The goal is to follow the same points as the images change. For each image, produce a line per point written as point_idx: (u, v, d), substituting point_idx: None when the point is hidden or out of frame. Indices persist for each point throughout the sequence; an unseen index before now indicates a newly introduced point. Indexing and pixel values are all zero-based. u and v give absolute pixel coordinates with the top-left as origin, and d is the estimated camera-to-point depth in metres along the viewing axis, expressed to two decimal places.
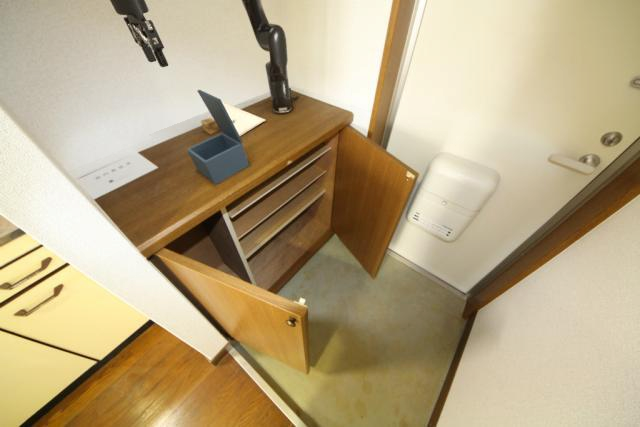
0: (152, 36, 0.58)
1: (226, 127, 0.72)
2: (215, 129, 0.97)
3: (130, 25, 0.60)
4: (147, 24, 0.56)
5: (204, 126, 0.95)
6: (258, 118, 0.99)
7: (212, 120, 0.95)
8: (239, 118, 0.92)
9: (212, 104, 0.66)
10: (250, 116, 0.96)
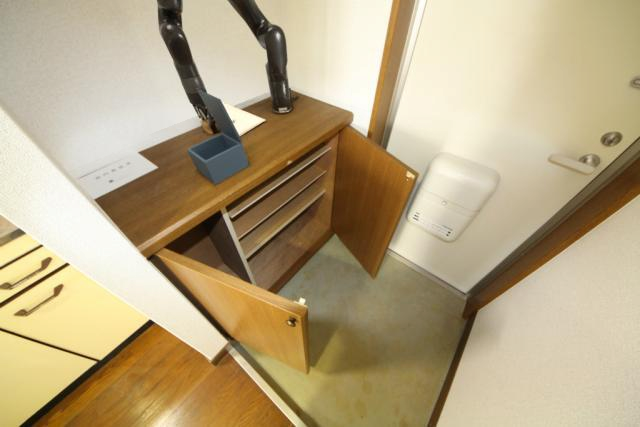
0: (212, 119, 0.90)
1: (226, 127, 0.72)
2: None
3: (196, 108, 0.90)
4: None
5: (204, 126, 0.95)
6: (258, 118, 0.99)
7: None
8: (239, 118, 0.92)
9: (212, 104, 0.66)
10: (250, 116, 0.96)
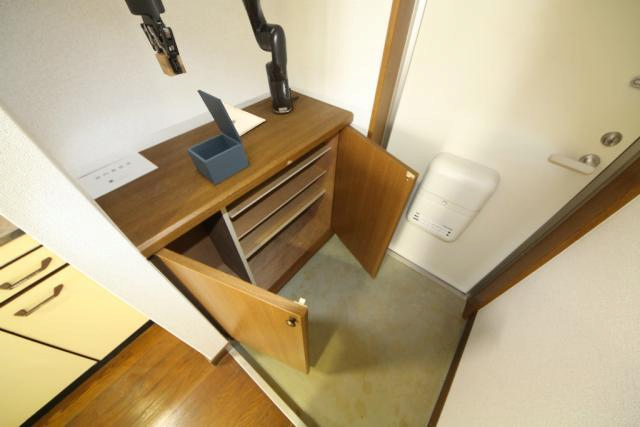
0: (170, 44, 0.55)
1: (226, 127, 0.72)
2: None
3: (144, 26, 0.55)
4: (166, 32, 0.53)
5: (160, 62, 0.60)
6: (258, 118, 0.99)
7: None
8: (239, 118, 0.92)
9: (212, 104, 0.66)
10: (250, 116, 0.96)
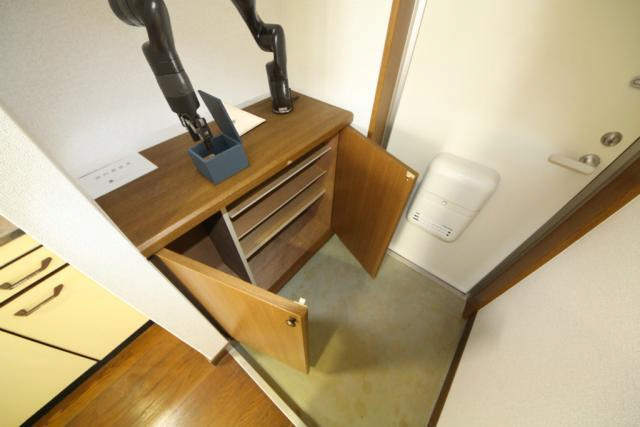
0: (204, 130, 0.62)
1: (226, 127, 0.72)
2: None
3: (182, 118, 0.63)
4: (201, 122, 0.60)
5: None
6: (258, 118, 0.99)
7: None
8: (239, 118, 0.92)
9: (212, 104, 0.66)
10: (250, 116, 0.96)
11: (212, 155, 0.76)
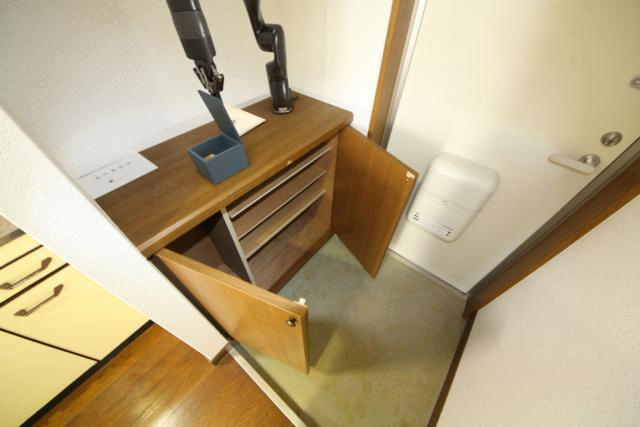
0: (218, 86, 0.61)
1: (226, 127, 0.72)
2: None
3: (196, 67, 0.60)
4: (219, 79, 0.59)
5: None
6: (258, 118, 0.99)
7: None
8: (239, 118, 0.92)
9: (212, 104, 0.66)
10: (250, 116, 0.96)
11: (212, 155, 0.76)
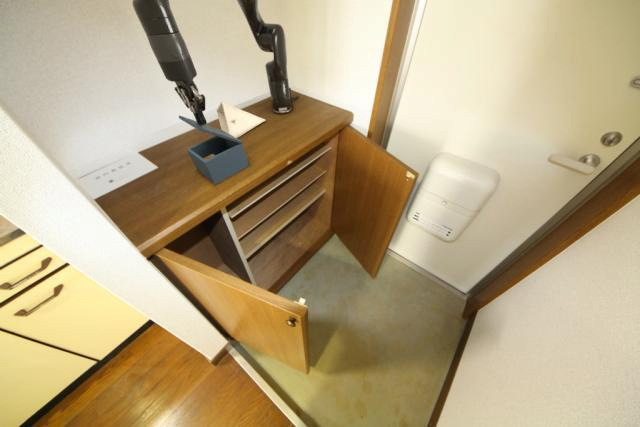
0: (200, 106, 0.60)
1: None
2: None
3: (177, 87, 0.59)
4: (200, 100, 0.58)
5: None
6: (258, 118, 0.99)
7: None
8: (239, 118, 0.92)
9: None
10: (250, 116, 0.96)
11: (212, 155, 0.76)
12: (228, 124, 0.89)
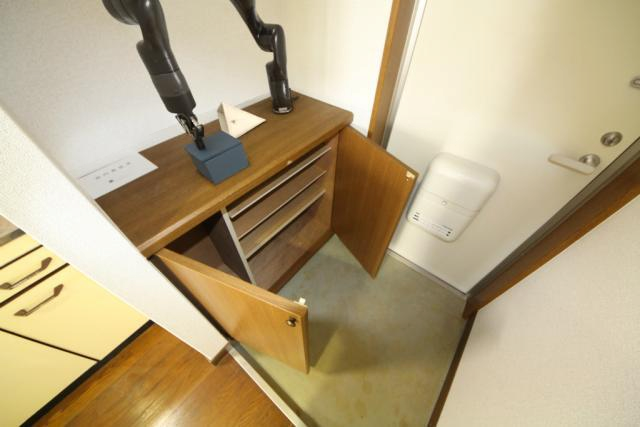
0: (199, 134, 0.63)
1: None
2: None
3: (177, 117, 0.62)
4: (199, 129, 0.61)
5: None
6: (258, 118, 0.99)
7: None
8: (239, 118, 0.92)
9: None
10: (250, 116, 0.96)
11: None
12: (228, 124, 0.89)
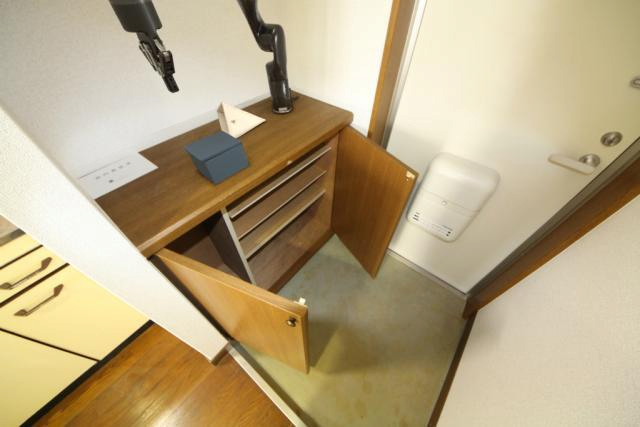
0: (167, 66, 0.51)
1: None
2: None
3: (139, 43, 0.50)
4: (166, 57, 0.49)
5: None
6: (258, 118, 0.99)
7: None
8: (239, 118, 0.92)
9: None
10: (250, 116, 0.96)
11: None
12: (228, 124, 0.89)
